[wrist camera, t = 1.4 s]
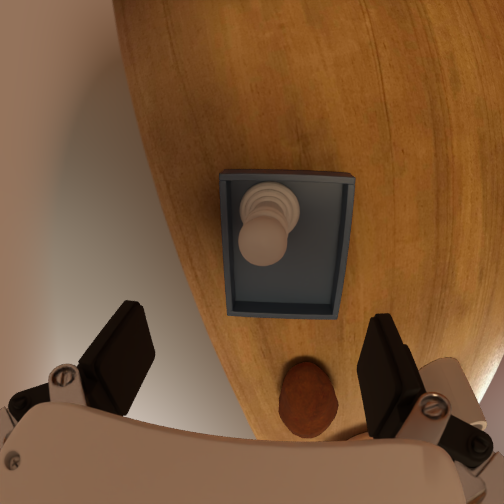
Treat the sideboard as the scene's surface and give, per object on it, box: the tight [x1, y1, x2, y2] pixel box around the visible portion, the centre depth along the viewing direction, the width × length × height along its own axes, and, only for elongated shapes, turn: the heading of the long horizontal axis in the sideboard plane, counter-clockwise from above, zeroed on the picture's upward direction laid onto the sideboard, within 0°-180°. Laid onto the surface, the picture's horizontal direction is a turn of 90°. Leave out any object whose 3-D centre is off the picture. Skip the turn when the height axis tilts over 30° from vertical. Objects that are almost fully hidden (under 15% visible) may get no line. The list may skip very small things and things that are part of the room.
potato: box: [279, 362, 338, 438], centre depth 32 cm, size 8×12×8 cm, turn 11°
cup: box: [419, 358, 487, 431], centre depth 29 cm, size 9×9×12 cm
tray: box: [219, 169, 355, 319], centre depth 27 cm, size 14×11×2 cm
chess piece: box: [238, 181, 300, 266], centre depth 22 cm, size 5×5×9 cm
